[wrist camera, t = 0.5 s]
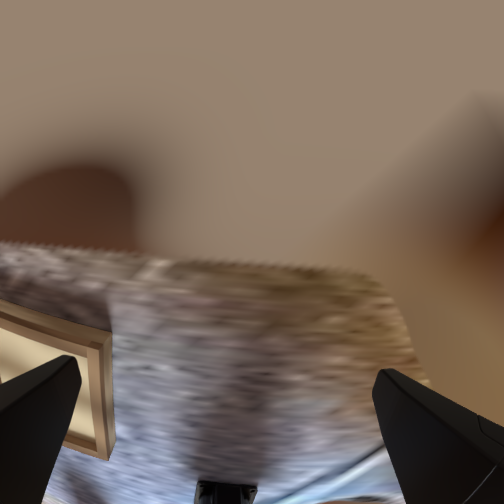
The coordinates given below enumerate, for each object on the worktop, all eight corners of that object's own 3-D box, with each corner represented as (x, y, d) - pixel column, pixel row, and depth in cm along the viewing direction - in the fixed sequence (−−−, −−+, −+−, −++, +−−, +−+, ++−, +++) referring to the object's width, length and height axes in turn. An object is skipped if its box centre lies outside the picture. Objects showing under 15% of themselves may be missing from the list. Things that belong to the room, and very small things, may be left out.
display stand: (116, 441, 26) (108, 461, 23) (12, 403, 25) (0, 417, 22) (112, 332, 23) (98, 350, 20) (-7, 296, 22) (-25, 307, 19)
